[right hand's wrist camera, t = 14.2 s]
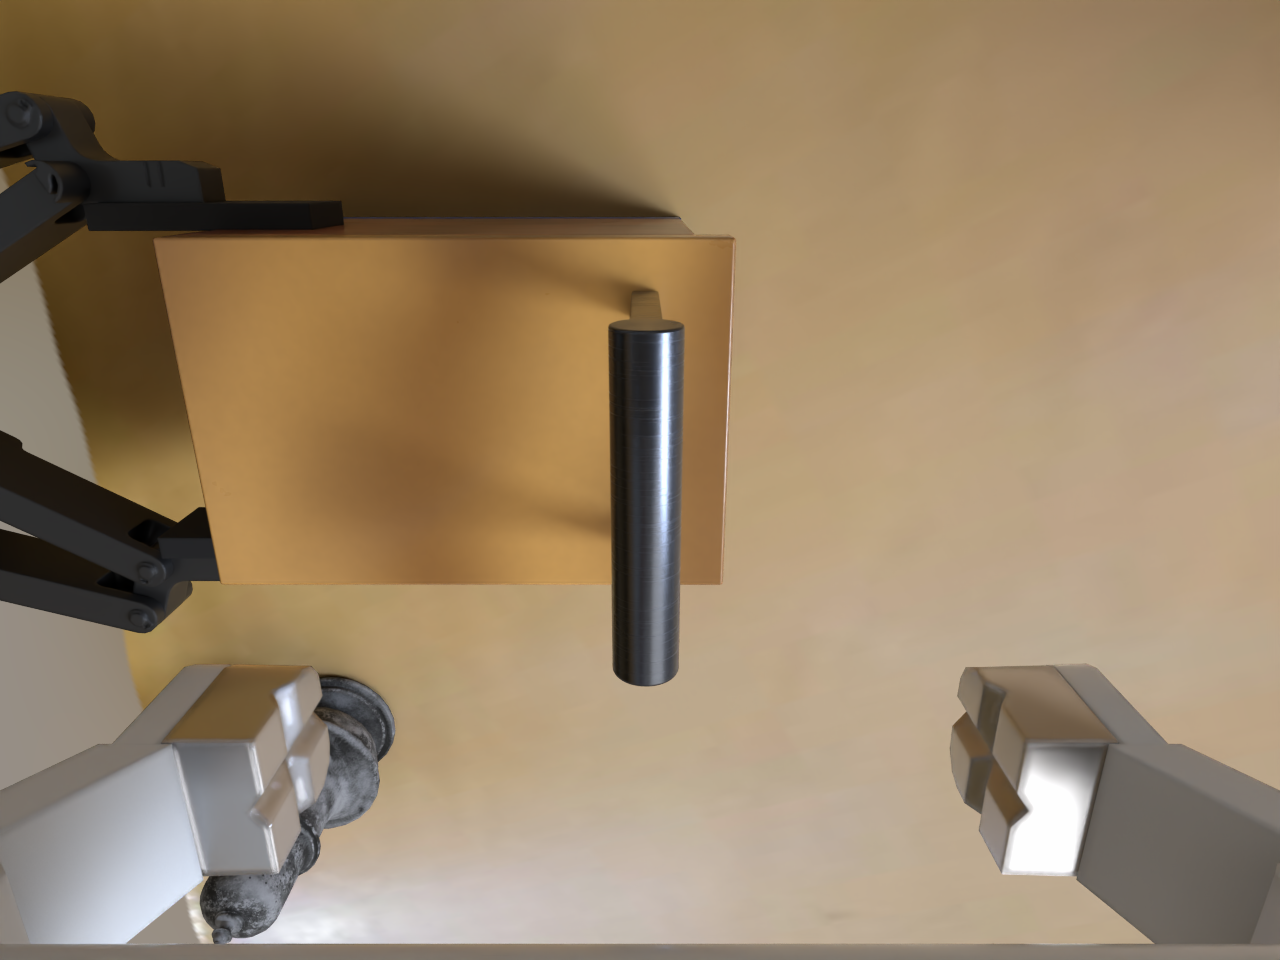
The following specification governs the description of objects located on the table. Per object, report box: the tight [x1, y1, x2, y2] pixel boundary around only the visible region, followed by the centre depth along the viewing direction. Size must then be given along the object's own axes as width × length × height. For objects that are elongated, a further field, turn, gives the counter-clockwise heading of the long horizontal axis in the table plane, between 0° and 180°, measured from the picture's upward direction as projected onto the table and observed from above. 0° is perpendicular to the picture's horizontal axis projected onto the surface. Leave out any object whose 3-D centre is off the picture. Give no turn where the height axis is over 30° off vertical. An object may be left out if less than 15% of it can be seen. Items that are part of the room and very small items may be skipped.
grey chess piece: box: [200, 677, 395, 944], centre depth 33 cm, size 6×6×12 cm
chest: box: [178, 217, 694, 235], centre depth 28 cm, size 14×10×10 cm
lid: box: [153, 235, 736, 686], centre depth 20 cm, size 15×10×8 cm, turn 90°
